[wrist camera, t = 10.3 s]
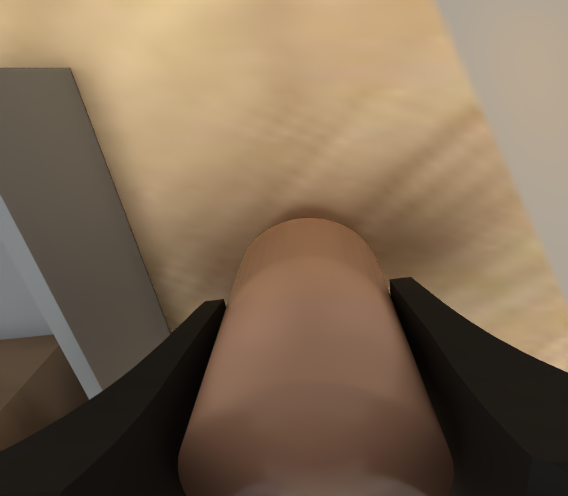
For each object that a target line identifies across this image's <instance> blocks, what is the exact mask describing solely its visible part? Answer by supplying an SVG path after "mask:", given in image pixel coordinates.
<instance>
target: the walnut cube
mask: <svg viewBox="0 0 568 496" xmlns="http://www.w3.org/2000/svg"><path fill="white" fill-rule="evenodd" d="M88 400H89V398H88V396H87V394H86V393H85V391H84V389H83V387H82V385H81V383H80V382H79V380H78V378H77V376H76V374H75V373H74V371H73V369H72V367H71V365H70V363H69V362H68V360H67V358H66V356H65V354H64V353H63V351H62V349H61V347H60V345H59V343H58V342H57V340H56V338H55V336H54V334H53V335H43V336H34V337H24V338H14V339H4V340H0V451H2V450H4V449H6V448H8V447H10V446H12V445H14V444H16V443H18V442H20V441H22V440H23V439H25V438H27V437H29V436H31V435H32V434H34V433H36V432H38V431H40V430H41V429H43V428H45V427H47V426H48V425H50V424H52V423H53V422H55V421H57V420H59V419H60V418H62V417H64V416H65V415H67V414H68V413H70V412H71V411H73V410H74V409H76V408H77V407H79V406H81V405H82V404H84V403H85V402H87V401H88Z"/></svg>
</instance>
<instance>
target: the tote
mask: <svg viewBox="0 0 568 496" xmlns="http://www.w3.org/2000/svg"><path fill="white" fill-rule="evenodd" d="M53 334H54V336H55V338H56V340H57V342H58V343H59V345H60V347H61V349H62V351H63V353H64V354H65V356H66V358H67V360H68V362H69V363H70V365H71V367H72V369H73V371H74V373H75V374H76V376H77V378H78V380H79V382H80V383H81V385H82V387H83V389H84V391H85V393H86V394H87V396H88V398H89V400H90V399H91V398H93V397H94V396H96V395H97V394H99V393H100V392H102V391H103V390H104V389H106V388H107V387H109V386H110V385H111V384H113V383H114V382H115V381H117V380H118V379H119V378H121V377H122V376H123V375H125V374H126V373H127V372H128V371H130V370H131V369H132V368H133V367H135V366H136V365H137V364H138V363H139V362H140V361H142V360H143V359H144V358H145V357H146V356H147V355H148V354H150V353H151V352H152V351H153V350H154V349H155V348H156V347H157V346H159V345H160V344H161V343H162V342H163V341H164V340H165V339H166V338H167V337H168V336H169V335H170V331H169V329H168V326H167V324H166V321H165V318H164V316H163V313H162V310H161V308H160V305H159V302H158V300H157V297H156V295H155V292H154V289H153V287H152V284H151V281H150V279H149V276H148V273H147V271H146V268H145V266H144V263H143V260H142V258H141V255H140V252H139V250H138V247H137V244H136V242H135V239H134V236H133V234H132V231H131V229H130V226H129V223H128V221H127V218H126V215H125V213H124V210H123V207H122V205H121V202H120V200H119V197H118V194H117V192H116V189H115V186H114V184H113V181H112V178H111V176H110V173H109V170H108V168H107V165H106V163H105V160H104V157H103V155H102V152H101V149H100V147H99V144H98V141H97V139H96V136H95V134H94V131H93V128H92V126H91V123H90V120H89V118H88V115H87V112H86V110H85V107H84V105H83V102H82V99H81V97H80V94H79V91H78V89H77V86H76V83H75V81H74V78H73V75H72V73H71V70H70V68H0V340H4V339H14V338H24V337H34V336H43V335H53Z"/></svg>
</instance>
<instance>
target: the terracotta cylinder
mask: <svg viewBox="0 0 568 496" xmlns="http://www.w3.org/2000/svg"><path fill="white" fill-rule="evenodd" d="M178 473H179V479H180V482H181V485H182V488H183V490H184V492H185V494H186V496H449V494H450V491H451V488H452V484H453V478H454V467H453V460H452V457H451V453H450V450H449V447H448V445H447V442H446V440H445V437H444V434H443V432H442V429H441V427H440V424H439V421H438V419H437V416H436V413H435V411H434V408H433V406H432V403H431V400H430V398H429V395H428V393H427V390H426V387H425V385H424V382H423V380H422V377H421V374H420V372H419V369H418V367H417V364H416V361H415V359H414V356H413V353H412V351H411V348H410V346H409V343H408V340H407V338H406V335H405V333H404V330H403V327H402V325H401V322H400V320H399V317H398V314H397V312H396V309H395V306H394V304H393V301H392V299H391V296H390V293H389V291H388V288H387V286H386V283H385V280H384V278H383V275H382V273H381V270H380V267H379V265H378V262H377V259H376V257H375V255H374V253H373V251H372V250H371V248H370V247H369V245H368V244H367V243H366V242H365V241H364V240H363V239H362V238H361V237H360V236H359V235H358V234H357V233H355V232H354V231H352V230H351V229H349V228H348V227H346V226H344V225H341V224H339V223H337V222H333V221H330V220H326V219H320V218H299V219H293V220H288V221H285V222H282V223H279V224H277V225H275V226H273V227H271V228H269V229H268V230H266V231H265V232H263V233H262V234H261V235H260V236H258V237H257V238H256V239H255V240H254V241H253V242H252V244H251V245H250V246H249V248H248V249H247V251H246V252H245V254H244V256H243V259H242V261H241V264H240V267H239V270H238V273H237V276H236V279H235V282H234V286H233V289H232V292H231V295H230V298H229V301H228V304H227V307H226V310H225V313H224V316H223V319H222V322H221V325H220V328H219V331H218V335H217V338H216V341H215V344H214V347H213V350H212V353H211V356H210V359H209V362H208V365H207V368H206V371H205V374H204V377H203V381H202V384H201V387H200V390H199V393H198V396H197V399H196V402H195V405H194V408H193V411H192V414H191V417H190V420H189V423H188V426H187V430H186V433H185V436H184V439H183V442H182V445H181V448H180V452H179V456H178Z"/></svg>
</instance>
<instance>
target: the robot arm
mask: <svg viewBox="0 0 568 496" xmlns="http://www.w3.org/2000/svg"><path fill="white" fill-rule="evenodd" d="M390 294H391V299H392V301H393V304H394V306H395V309H396V312H397V314H398V317H399V320H400V322H401V325H402V327H403V330H404V333H405V335H406V338H407V340H408V343H409V346H410V348H411V351H412V353H413V356H414V359H415V361H416V364H417V367H418V369H419V372H420V374H421V377H422V380H423V382H424V385H425V387H426V390H427V393H428V395H429V398H430V400H431V403H432V406H433V408H434V411H435V413H436V416H437V419H438V421H439V424H440V427H441V429H442V432H443V434H444V437H445V440H446V442H447V445H448V447H449V450H450V453H451V457H452V460H453V467H454V478H453V484H452V488H451V491H450V494H449V496H568V373H567V372H565V371H563V370H561V369H558V368H556V367H554V366H552V365H549V364H547V363H545V362H543V361H540V360H538V359H536V358H534V357H532V356H530V355H528V354H526V353H524V352H522V351H520V350H518V349H517V348H515V347H513V346H511V345H509V344H507V343H505V342H503V341H502V340H500V339H498V338H496V337H494V336H493V335H491V334H489V333H488V332H486V331H484V330H483V329H481V328H480V327H478V326H477V325H475V324H473V323H472V322H470V321H469V320H467V319H466V318H464V317H463V316H461V315H460V314H458V313H457V312H456V311H454V310H453V309H451V308H450V307H449V306H447V305H446V304H445V303H443V302H442V301H441V300H439V299H438V298H437V297H435V296H434V295H433V294H432V293H430V292H429V291H428V290H427V289H425V288H424V287H423V286H422V285H420V284H419V283H418V282H416V281H415V280H414V279H413V278H411V277H408V278H399V279H391V280H390ZM225 310H226V305H225V302H224V299H222V300H213V301H205V302H204V303H203V304H202V305H200V306H199V307H198V308H197V309H196V310H195V311H194V312H193V313H192V314H191V315H190V316H189V317H188V318H187V319H186V320H185V321H184V322H183V323H182V324H181V325H180V326H179V327H178V328H177V329H176V330H174V331H173V332H172V333H171V334H170V335H169V336H168V337H167V338H166V339H165V340H164V341H163V342H162V343H161V344H160V345H159V346H157V347H156V348H155V349H154V350H153V351H152V352H151V353H150V354H148V355H147V356H146V357H145V358H144V359H143V360H142V361H140V362H139V363H138V364H137V365H136V366H135V367H133V368H132V369H131V370H130V371H128V372H127V373H126V374H125V375H123V376H122V377H121V378H119V379H118V380H117V381H115V382H114V383H113V384H111V385H110V386H109V387H107V388H106V389H104V390H103V391H102V392H100V393H99V394H97V395H96V396H94V397H93V398H91V399H90V400H88V401H87V402H85V403H84V404H82V405H81V406H79V407H77V408H76V409H74V410H73V411H71V412H70V413H68V414H67V415H65V416H64V417H62V418H60V419H59V420H57V421H55V422H53V423H52V424H50V425H48V426H47V427H45V428H43V429H41V430H40V431H38V432H36V433H34V434H32V435H31V436H29V437H27V438H25V439H23V440H22V441H20V442H18V443H16V444H14V445H12V446H10V447H8V448H6V449H4V450H2V451H0V496H186V494H185V492H184V490H183V488H182V485H181V482H180V479H179V473H178V456H179V452H180V448H181V445H182V442H183V439H184V436H185V433H186V430H187V426H188V423H189V420H190V417H191V414H192V411H193V408H194V405H195V402H196V399H197V396H198V393H199V390H200V387H201V384H202V381H203V377H204V374H205V371H206V368H207V365H208V362H209V359H210V356H211V353H212V350H213V347H214V344H215V341H216V338H217V335H218V331H219V328H220V325H221V322H222V319H223V316H224V313H225Z"/></svg>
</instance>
